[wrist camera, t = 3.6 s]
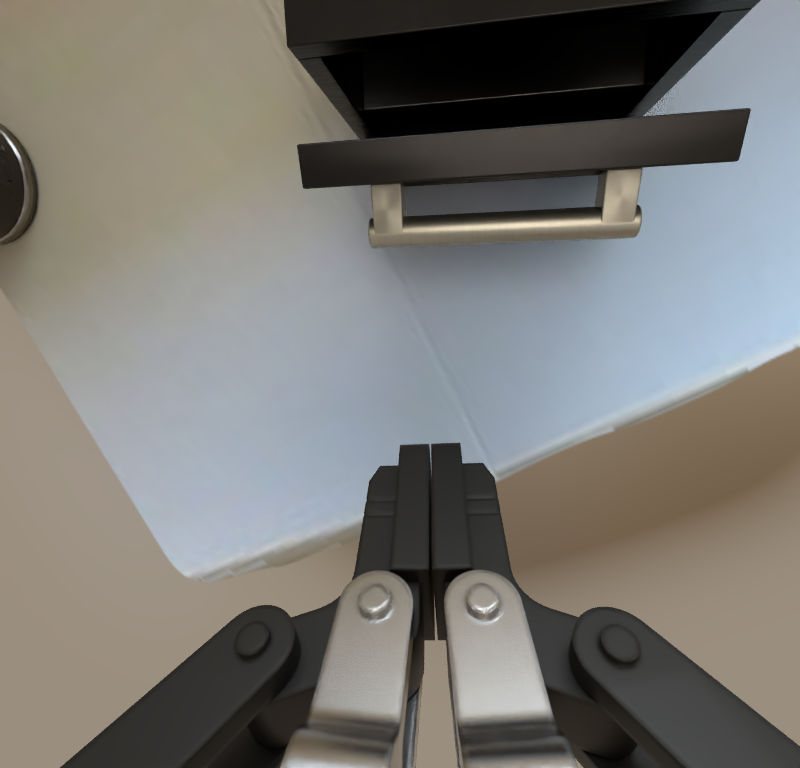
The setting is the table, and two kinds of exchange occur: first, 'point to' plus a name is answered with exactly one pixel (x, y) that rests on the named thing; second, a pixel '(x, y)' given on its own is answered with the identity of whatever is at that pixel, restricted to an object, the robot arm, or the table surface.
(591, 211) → the oven door
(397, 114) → the oven
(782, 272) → the table surface
